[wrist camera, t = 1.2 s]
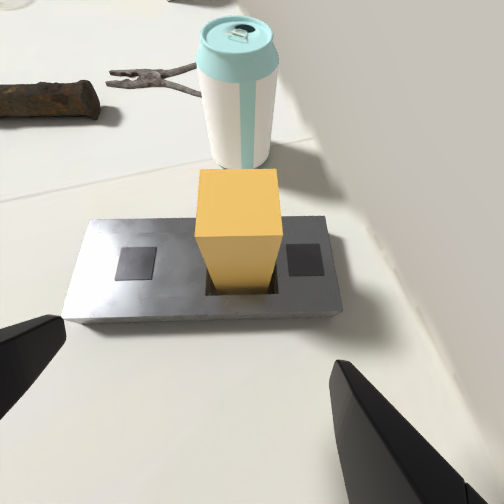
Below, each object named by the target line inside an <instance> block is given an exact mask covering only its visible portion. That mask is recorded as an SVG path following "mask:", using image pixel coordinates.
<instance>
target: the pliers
mask: <svg viewBox="0 0 504 504" xmlns="http://www.w3.org/2000/svg"><path fill="white" fill-rule="evenodd" d="M195 68H197V64H196V63H192V64H189V65H186V66H182V67H179V68H175V69H171V70H162V69H158V70H151V69H135V70H111V71H109V73H110V75H115V76H124V75H125V76H128V77H133V76H139V77H140V78H137V80H134V81H130V80H129V79H125V80H122V81H117V80H115V81H107V82H105V83H106V85H107V86H110V87H118V88H125V89H132V88H141V87H150V86H155V87H168V88H172V89H175V90H179V91H182V92H185V93H188V94H191V95H194V96H197V97H202V94H201V92H199V91H196V90H193V89H190V88H188V87H185V86H183V85H180V84H177V83H174V82H170V81H167V80H164V79H162V78H166V77H170V76H174V75H178V74H181V73H184V72H186V71H189V70H192V69H195Z"/></svg>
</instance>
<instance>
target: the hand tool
mask: <svg viewBox="0 0 504 504" xmlns="http://www.w3.org/2000/svg"><path fill="white" fill-rule="evenodd" d="M99 114H100V102H99V99H98V96H97V94H96V92H95V90H94V88H93V86H92V84H91V83H90V81H88V80H80V81H78V82H76V83H66V84H65V83H46V82H39V83H37V84H17V85H0V117H2V116H22V117H26V116H79V115H89V116H90V117H91V118H93V119H94V120H97V119H98V115H99Z"/></svg>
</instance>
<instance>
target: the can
mask: <svg viewBox="0 0 504 504" xmlns="http://www.w3.org/2000/svg"><path fill="white" fill-rule="evenodd" d="M200 38H201V43H200V46H199V48H198V51H197V54H196V64H197V70H198V76H199V82H200V88H201V94H202V100H203V106H204V112H205V118H206V124H207V130H208V136H209V142H210V148H211V154H212V157H213V158H214V160H215V161H216V162H217V163H218V164H219V165H221V166H222V167H224V168H226V169H254V168H256V167H258V166H260V165H261V164H263V163H264V162H265V160H266V159H267V157H268V155H269V150H270V140H271V131H272V121H273V112H274V102H275V93H276V83H277V74H278V64H279V57H278V53H277V50H276V48H275V46H274V44H273V42H272V40H273V32H272V30H271V28H270V27H269V26H268V25H267V24H266V23H264V22H263V21H261V20H258V19H256V18H252V17H247V16H225V17H220V18H217V19H214V20H212V21H210V22H208V23H207V24H206V25H205V26H204V27H203V28H202V30H201V32H200Z"/></svg>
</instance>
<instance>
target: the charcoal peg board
mask: <svg viewBox="0 0 504 504" xmlns="http://www.w3.org/2000/svg"><path fill="white" fill-rule="evenodd" d="M281 220H282V230H283V237H282V241H281V244H280V248H279V252H278V255H277V259H276V262H275V266H274V270H273V273H274V286H275V294H257V295H218V296H210V278H211V276H210V274H209V271H208V269H207V266H206V264H205V261H204V259H203V256H202V254H201V251H200V249H199V246H198V244H197V241H196V239H195V226H196V218H157V219H93V220H90V221H89V225H88V228H87V231H86V235H85V238H84V241H83V245H82V248H81V251H80V255H79V258H78V261H77V265H76V268H75V271H74V275H73V278H72V281H71V285H70V288H69V291H68V295H67V298H66V301H65V305H64V308H63V311H62V315H61V317H62V318H63V320H67V321H71V322H75V323H79V324H92V323H127V322H161V321H196V320H231V319H265V318H300V317H333V316H335V315H336V314H338V313H340V312H342V311H343V309H342V303H341V298H340V293H339V288H338V282H337V277H336V272H335V267H334V261H333V256H332V251H331V246H330V240H329V235H328V230H327V225H326V219H325V216H283V217H281Z"/></svg>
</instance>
